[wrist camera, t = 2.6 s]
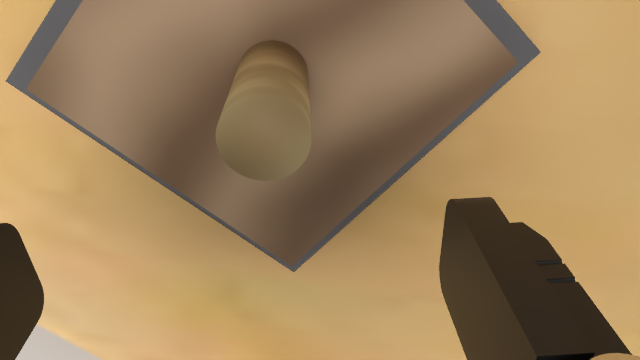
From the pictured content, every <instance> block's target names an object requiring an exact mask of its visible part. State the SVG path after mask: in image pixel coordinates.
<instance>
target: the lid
mask: <svg viewBox="0 0 640 360" xmlns="http://www.w3.org/2000/svg"><path fill="white" fill-rule="evenodd" d="M517 63H518V61H517V60H516V59H515V57H514V56H513V55H512V54H511V53H510V52H509V51H508V50H507V48H506V47H505V46H504V45H503V44H502V43H501V42H500V41H499V39H498V38H497V37H496V36H495V35H494V34H493V33H492V32H491V31H490V29H489V28H488V27H487V26H486V25H485V24H484V23H483V22H482V20H481V19H480V18H479V17H478V16H477V15H476V14H475V13H474V11H473V10H472V9H471V8H470V7H469V6H468V5H467V4H466V3H465V1H464V0H83V1H82V2H81V4H80V5H79V7H78V9H77V10H76V12H75V13H74V15H73V16H72V18H71V19H70V21H69V22H68V24H67V26H66V27H65V29H64V30H63V32H62V33H61V35H60V36H59V38H58V40H57V41H56V43H55V44H54V46H53V47H52V49H51V50H50V52H49V53H48V55H47V57H46V58H45V60H44V61H43V63H42V64H41V66H40V67H39V69H38V70H37V72H36V74H35V75H34V77H33V78H32V80H31V81H30V83H29V84H28V86H27V87H26V90H28V91H29V92H31V93H32V94H34V95H35V96H37V97H38V98H40V99H41V100H43V101H44V102H46V103H47V104H49V105H50V106H52V107H53V108H55V109H56V110H58V111H59V112H61V113H62V114H64V115H65V116H67V117H68V118H70V119H71V120H73V121H74V122H76V123H77V124H79V125H80V126H82V127H83V128H85V129H86V130H88V131H89V132H91V133H92V134H94V135H95V136H97V137H98V138H100V139H101V140H103V141H104V142H106V143H107V144H109V145H110V146H112V147H113V148H115V149H116V150H118V151H119V152H121V153H122V154H124V155H125V156H127V157H128V158H130V159H131V160H133V161H134V162H136V163H137V164H139V165H140V166H142V167H143V168H145V169H146V170H148V171H149V172H151V173H152V174H154V175H155V176H157V177H158V178H160V179H161V180H163V181H164V182H166V183H167V184H169V185H170V186H172V187H173V188H175V189H176V190H178V191H179V192H181V193H182V194H184V195H185V196H187V197H188V198H190V199H191V200H193V201H194V202H196V203H197V204H199V205H200V206H202V207H203V208H205V209H206V210H208V211H209V212H211V213H212V214H214V215H215V216H217V217H218V218H220V219H221V220H223V221H224V222H226V223H227V224H229V225H230V226H232V227H233V228H235V229H236V230H238V231H239V232H241V233H242V234H244V235H245V236H247V237H248V238H250V239H251V240H253V241H254V242H256V243H257V244H259V245H260V246H262V247H263V248H265V249H266V250H268V251H269V252H271V253H272V254H274V255H275V256H277V257H278V258H280V259H281V260H283V261H284V262H286V263H287V264H289V265H290V266H293V265H294V264H295V263H296V262H297V261H298V260H299V259H300V258H301V257H303V256H304V255H305V254H306V253H307V252H308V251H309V250H310V249H311V248H313V247H314V246H315V245H316V244H317V243H318V242H319V241H320V240H321V239H323V238H324V237H325V236H326V235H327V234H328V233H329V232H330V231H331V230H333V229H334V228H335V227H336V226H337V225H338V224H339V223H340V222H341V221H343V220H344V219H345V218H346V217H347V216H348V215H349V214H350V213H351V212H353V211H354V210H355V209H356V208H357V207H358V206H359V205H360V204H362V203H363V202H364V201H365V200H366V199H367V198H368V197H369V196H370V195H372V194H373V193H374V192H375V191H376V190H377V189H378V188H379V187H380V186H382V185H383V184H384V183H385V182H386V181H387V180H388V179H389V178H390V177H392V176H393V175H394V174H395V173H396V172H397V171H398V170H399V169H400V168H402V167H403V166H404V165H405V164H406V163H407V162H408V161H409V160H410V159H412V158H413V157H414V156H415V155H416V154H417V153H418V152H419V151H420V150H422V149H423V148H424V147H425V146H426V145H427V144H428V143H429V142H430V141H432V140H433V139H434V138H435V137H436V136H437V135H438V134H439V133H440V132H442V131H443V130H444V129H445V128H446V127H447V126H448V125H449V124H451V123H452V122H453V121H454V120H455V119H456V118H457V117H458V116H459V115H461V114H462V113H463V112H464V111H465V110H466V109H467V108H468V107H469V106H471V105H472V104H473V103H474V102H475V101H476V100H477V99H478V98H479V97H481V96H482V95H483V94H484V93H485V92H486V91H487V90H488V89H489V88H491V87H492V86H493V85H494V84H495V83H496V82H497V81H498V80H499V79H501V78H502V77H503V76H504V75H505V74H506V73H507V72H508V71H509V70H511V69H512V68H513V67H514V66H515V65H516V64H517Z"/></svg>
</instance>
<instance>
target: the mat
mask: <svg viewBox="0 0 640 360" xmlns="http://www.w3.org/2000/svg"><path fill="white" fill-rule="evenodd" d="M82 1H83V0H56V1H55V3H54V4H53V6H52V7H51V9H50V11H49V12H48V14H47V16H46V17H45V19H44V20H43V22H42V24H41V25H40V27H39V28H38V30H37V32H36V33H35V35H34V36H33V38H32V40H31V41H30V43H29V44H28V46H27V48H26V49H25V51H24V53H23V54H22V56H21V57H20V59H19V61H18V62H17V64H16V65H15V67H14V69H13V70H12V72H11V73H10V75H9V77H8V78H7V80H6V82H8V83H9V84H11V85H12V86H14V87H15V88H17V89H18V90H20V91H21V92H23V93H24V94H26V95H27V96H29V97H30V98H32V99H33V100H35V101H36V102H38V103H39V104H41V105H42V106H44V107H45V108H47V109H48V110H50V111H51V112H53V113H54V114H56V115H57V116H59V117H60V118H62V119H64V120H65V121H67V122H68V123H70V124H71V125H73V126H74V127H76V128H77V129H79V130H80V131H82V132H83V133H85V134H86V135H88V136H89V137H91V138H92V139H94V140H95V141H97V142H98V143H100V144H101V145H103V146H104V147H106V148H107V149H109V150H110V151H112V152H113V153H115V154H116V155H118V156H119V157H121V158H122V159H124V160H125V161H127V162H128V163H130V164H131V165H133V166H134V167H136V168H137V169H139V170H140V171H142V172H143V173H145V174H146V175H148V176H150V177H151V178H153V179H154V180H156V181H157V182H159V183H160V184H162V185H163V186H165V187H166V188H168V189H169V190H171V191H172V192H174V193H175V194H177V195H178V196H180V197H181V198H183V199H184V200H186V201H187V202H189V203H190V204H192V205H193V206H195V207H196V208H198V209H199V210H201V211H202V212H204V213H205V214H207V215H208V216H210V217H211V218H213V219H214V220H216V221H217V222H219V223H220V224H222V225H223V226H225V227H226V228H228V229H229V230H231V231H232V232H234V233H236V234H237V235H239V236H240V237H242V238H243V239H245V240H246V241H248V242H249V243H251V244H252V245H254V246H255V247H257V248H258V249H260V250H261V251H263V252H264V253H266V254H267V255H269V256H270V257H272V258H273V259H275V260H276V261H278V262H279V263H281V264H282V265H284V266H285V267H287V268H288V269H290V270H291V271H293V272H294V271H296V270H297V269H298V268H299V267H300V266H301V265H302V264H303V263H305V262H306V261H307V260H308V259H309V258H310V257H311V256H312V255H314V254H315V253H316V252H317V251H318V250H319V249H320V248H321V247H323V246H324V245H325V244H326V243H327V242H328V241H329V240H330V239H331V238H333V237H334V236H335V235H336V234H337V233H338V232H339V231H340V230H342V229H343V228H344V227H345V226H346V225H347V224H348V223H349V222H351V221H352V220H353V219H354V218H355V217H356V216H357V215H358V214H360V213H361V212H362V211H363V210H364V209H365V208H366V207H367V206H369V205H370V204H371V203H372V202H373V201H374V200H375V199H376V198H378V197H379V196H380V195H381V194H382V193H383V192H384V191H385V190H387V189H388V188H389V187H390V186H391V185H392V184H393V183H394V182H396V181H397V180H398V179H399V178H400V177H401V176H402V175H403V174H404V173H406V172H407V171H408V170H409V169H410V168H411V167H412V166H413V165H415V164H416V163H417V162H418V161H419V160H420V159H421V158H422V157H424V156H425V155H426V154H427V153H428V152H429V151H430V150H431V149H433V148H434V147H435V146H436V145H437V144H438V143H439V142H440V141H442V140H443V139H444V138H445V137H446V136H447V135H448V134H449V133H451V132H452V131H453V130H454V129H455V128H456V127H457V126H458V125H460V124H461V123H462V122H463V121H464V120H465V119H466V118H467V117H469V116H470V115H471V114H472V113H473V112H474V111H475V110H476V109H477V108H479V107H480V106H481V105H482V104H483V103H484V102H485V101H486V100H488V99H489V98H490V97H491V96H492V95H493V94H494V93H495V92H497V91H498V90H499V89H500V88H501V87H502V86H503V85H504V84H506V83H507V82H508V81H509V80H510V79H511V78H512V77H513V76H515V75H516V74H517V73H518V72H519V71H520V70H521V69H522V68H524V67H525V66H526V65H527V64H528V63H529V62H530V61H531V60H533V59H534V58H535V57H536V56H537V55H538V54H539V53H540V51H539V49H538V48H537V47H536V46H535V45H534V44H533V43H532V41H531V40H530V39H529V38H528V37H527V36H526V34H525V33H524V32H523V31H522V30H521V29H520V27H519V26H518V25H517V24H516V23H515V22H514V20H513V19H512V18H511V17H510V16H509V15H508V13H507V12H506V11H505V10H504V9H503V8H502V6H501V5H500V4H499V3H498V2H497V1H496V0H464V1H465V3H466V4H467V5H468V6H469V7H470V8H471V9H472V10H473V11H474V13H475V14H476V15H477V16H478V17H479V18H480V19H481V20H482V22H483V23H484V24H485V25H486V26H487V27H488V28H489V29H490V31H491V32H492V33H493V34H494V35H495V36H496V37H497V38H498V39H499V41H500V42H501V43H502V44H503V45H504V46H505V47H506V48H507V50H508V51H509V52H510V53H511V54H512V55H513V56H514V57H515V59H516V60H517V61H518V63H517V64H516V65H515V66H514V67H513V68H512V69H511V70H509V71H508V72H507V73H506V74H505V75H504V76H503V77H502V78H501V79H499V80H498V81H497V82H496V83H495V84H494V85H493V86H492V87H491V88H489V89H488V90H487V91H486V92H485V93H484V94H483V95H482V96H481V97H479V98H478V99H477V100H476V101H475V102H474V103H473V104H472V105H471V106H469V107H468V108H467V109H466V110H465V111H464V112H463V113H462V114H461V115H459V116H458V117H457V118H456V119H455V120H454V121H453V122H452V123H451V124H449V125H448V126H447V127H446V128H445V129H444V130H443V131H442V132H440V133H439V134H438V135H437V136H436V137H435V138H434V139H433V140H432V141H430V142H429V143H428V144H427V145H426V146H425V147H424V148H423V149H422V150H420V151H419V152H418V153H417V154H416V155H415V156H414V157H413V158H412V159H410V160H409V161H408V162H407V163H406V164H405V165H404V166H403V167H402V168H400V169H399V170H398V171H397V172H396V173H395V174H394V175H393V176H392V177H390V178H389V179H388V180H387V181H386V182H385V183H384V184H383V185H382V186H380V187H379V188H378V189H377V190H376V191H375V192H374V193H373V194H372V195H370V196H369V197H368V198H367V199H366V200H365V201H364V202H363V203H362V204H360V205H359V206H358V207H357V208H356V209H355V210H354V211H353V212H351V213H350V214H349V215H348V216H347V217H346V218H345V219H344V220H343V221H341V222H340V223H339V224H338V225H337V226H336V227H335V228H334V229H333V230H331V231H330V232H329V233H328V234H327V235H326V236H325V237H324V238H323V239H321V240H320V241H319V242H318V243H317V244H316V245H315V246H314V247H313V248H311V249H310V250H309V251H308V252H307V253H306V254H305V255H304V256H303V257H301V258H300V259H299V260H298V261H297V262H296V263H295V264H294V265H293V266H290V265H289V264H287V263H286V262H284V261H283V260H281V259H280V258H278V257H277V256H275V255H274V254H272V253H271V252H269V251H268V250H266V249H265V248H263V247H262V246H260V245H259V244H257V243H256V242H254V241H253V240H251V239H250V238H248V237H247V236H245V235H244V234H242V233H241V232H239V231H238V230H236V229H235V228H233V227H232V226H230V225H229V224H227V223H226V222H224V221H223V220H221V219H220V218H218V217H217V216H215V215H214V214H212V213H211V212H209V211H208V210H206V209H205V208H203V207H202V206H200V205H199V204H197V203H196V202H194V201H193V200H191V199H190V198H188V197H187V196H185V195H184V194H182V193H181V192H179V191H178V190H176V189H175V188H173V187H172V186H170V185H169V184H167V183H166V182H164V181H163V180H161V179H160V178H158V177H157V176H155V175H154V174H152V173H151V172H149V171H148V170H146V169H145V168H143V167H142V166H140V165H139V164H137V163H136V162H134V161H133V160H131V159H130V158H128V157H127V156H125V155H124V154H122V153H121V152H119V151H118V150H116V149H115V148H113V147H112V146H110V145H109V144H107V143H106V142H104V141H103V140H101V139H100V138H98V137H97V136H95V135H94V134H92V133H91V132H89V131H88V130H86V129H85V128H83V127H82V126H80V125H79V124H77V123H76V122H74V121H73V120H71V119H70V118H68V117H67V116H65V115H64V114H62V113H61V112H59V111H58V110H56V109H55V108H53V107H52V106H50V105H49V104H47V103H46V102H44V101H43V100H41V99H40V98H38V97H37V96H35V95H34V94H32V93H31V92H29V91H28V90H26V87H27V86H28V84H29V83H30V81H31V80H32V78H33V77H34V75H35V74H36V72H37V70H38V69H39V67H40V66H41V64H42V63H43V61H44V60H45V58H46V57H47V55H48V53H49V52H50V50H51V49H52V47H53V46H54V44H55V43H56V41H57V40H58V38H59V36H60V35H61V33H62V32H63V30H64V29H65V27H66V26H67V24H68V22H69V21H70V19H71V18H72V16H73V15H74V13H75V12H76V10H77V9H78V7H79V5H80V4H81V2H82Z"/></svg>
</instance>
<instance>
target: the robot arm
mask: <svg viewBox="0 0 640 360" xmlns="http://www.w3.org/2000/svg"><path fill="white" fill-rule="evenodd" d="M439 272H440V283H441V288H442V293H443V296H444V299H445V302H446V304H447V307H448V310H449V312H450V315H451V318H452V320H453V323H454V326H455V328H456V331H457V334H458V336H459V339H460V342H461V344H462V347H463V350H464V352H465V355H466V358H467V360H640V357H639V356H634V355H632V354H631V353H630V351H629V350H628V349H627V347H626V346H625V345H624V343H623V342H622V341H621V339H620V338H619V337H618V335H617V334H616V332H615V331H614V330H613V328H612V327H611V326H610V324H609V323H608V322H607V320H606V319H605V318H604V316H603V315H602V314H601V312H600V311H599V309H598V308H597V307H596V305H595V304H594V303H593V301H592V300H591V299H590V297H589V296H588V295H587V293H586V292H585V290H584V289H583V288H582V286H581V285H580V284H579V282H575V277H574V276H573V274H572V273H571V272H570V270H569V269H568V267H567V266H566V265H565V264H562V259H561V258H560V257H559V255H558V254H557V253H556V251H555V250H554V248H553V247H552V246H551V244H550V243H549V242H548V240H547V239H546V238H544V237H543V236H541V235H540V234H539V233H537V232H536V231H534V230H533V229H531V228H530V227H528V226H527V225H526V224H524V223H523V222H518V223H509V221H508V220H507V218H506V217H505V215H504V214H503V212H502V211H501V209H500V208H499V206H498V205H497V203H496V202H495V200H494V199H493V198H491V197H482V198H464V199H450V200H449V201H448V203H447V206H446V212H445V221H444V229H443V238H442V247H441V255H440V265H439ZM43 304H44V293H43V288H42V285H41V282H40V280H39V278H38V275H37V273H36V271H35V269H34V266H33V264H32V262H31V259H30V257H29V255H28V253H27V250H26V248H25V246H24V243H23V241H22V239H21V236H20V234H19V232H18V231H17V229H16V228H15V227H14V226H13V225H11V224H8V223H0V360H15V359H16V357H17V355H18V354H19V352H20V350H21V349H22V347H23V345H24V344H25V342H26V340H27V339H28V337H29V336H30V334H31V332H32V331H33V329H34V327H35V326H36V324H37V322H38V320H39V319H40V316H41V314H42V310H43Z"/></svg>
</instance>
